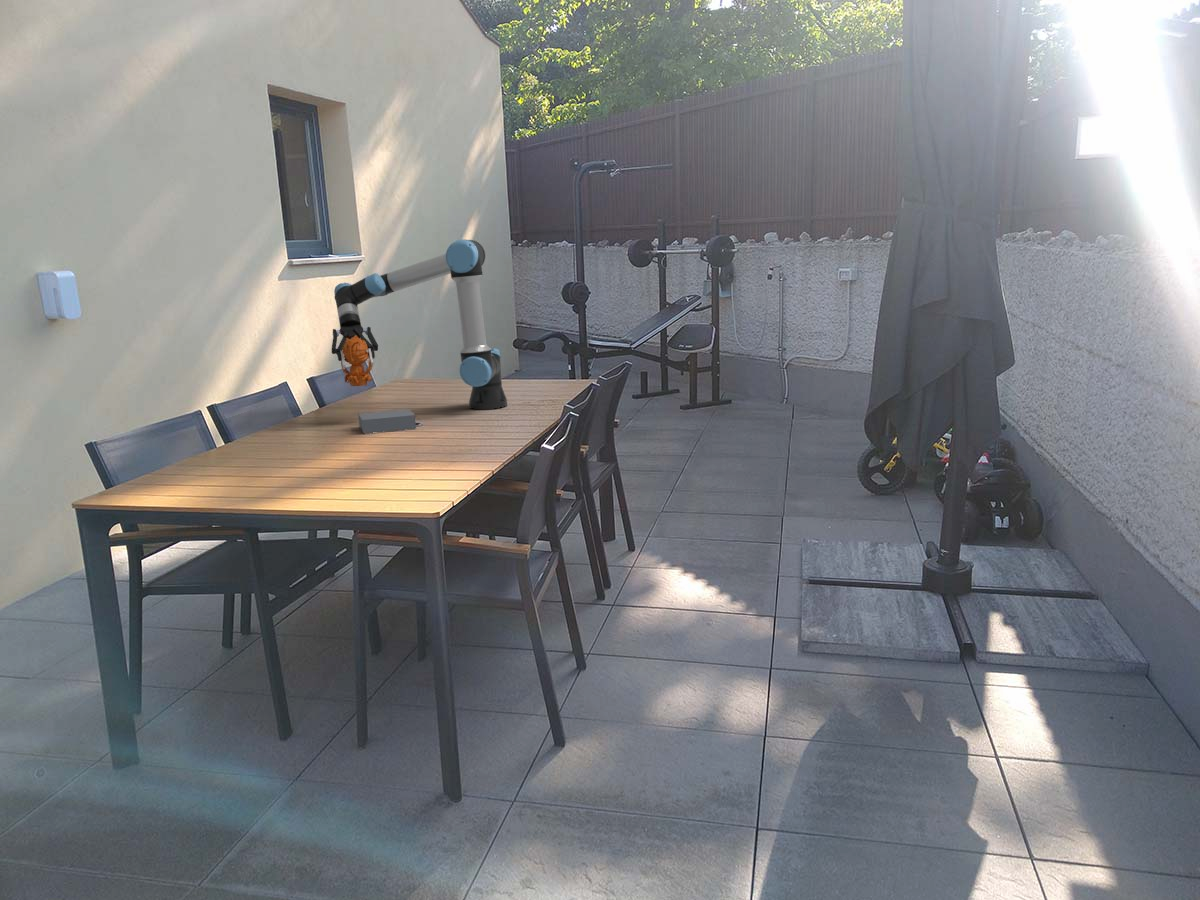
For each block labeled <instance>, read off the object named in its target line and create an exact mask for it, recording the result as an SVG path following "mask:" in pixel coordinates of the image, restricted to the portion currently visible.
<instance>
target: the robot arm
mask: <svg viewBox="0 0 1200 900" xmlns="http://www.w3.org/2000/svg"><path fill="white" fill-rule="evenodd" d="M485 261H486V251H485V249H484V247H483V245H482V244H481V243H479V242H478V241H477V240H472V239H457V240H456V241H453V242H452V243H451V244H450V245H449V246H448V247H447V249H446V251H445V253H444V254H440V255H438V256H434V257H432V258H429V259H426V260H423V261H420V262H417V263H414V264H411V265H408V266H406V267H405V266H404V267H402V268H399V269H396V270H393V271H391V272H387V273H384V274H381V275H380V274H378V273H372V274H370V275H367V276H366V277H364V278H362V279H360V280H358V281H356V282H355V283H353V284H351V283H349V282H343V283H342V282H340V283H338V284H337V285H336V286H335V287H334V290H333V291H334V292H333V293H334V300H335V305H336V309H337V316H338V322H339V329H337V330H336V328H333V329H332V336H333V337H332V342H331V343H332V344H331V354H332V355H337V360H338V361H339V362H341V361H342V366H343V369H345V367H346V361H345V360H344V359H345V358H344V354H343V352H342V351H343V350H342V347H344V344H345V343H346V342H345V341H346V338H348V339H351V338H353V337H354V336H355V335H357V337H358V338H361V340H365V341H366V344H367V347H368V350H367V352H368V353H369V358H368V361H369V360H371V366H372V368H374V360H373V359H375V358H376V357H375V352H377V351H378V350H379V344H378V342H377V340H376V339H375V336H374V335H373V333H372V331H371V327H370V326H367V328H366V327H365V328H364V327H363V326H362V323H361V318H360V311H359V307H358V305H360V304H362V303H365V302H366V301H368V300H370V299H372V298H378V297H385V296H388V295H389V294H392V293H394V292H398V291H401V290H404V289H407V288H410V287H413V286H416V285H419V284H422V283H425V282H428V281H432V280H436V279H437V278H440V277H444V276H447V275H449V274H450V278H451V280H453V281H454V283H455V285H456V293H457V302H458V310H459V311H458V312H459V318H460V319H459V320H460V326H461V335H462V343H463V347H462V349H461V350H460V351H459V353H460V360H461V361H460V362H461V363H460V365H459V374H460V375H459V376H460V378H461V379H462V381H463V382H464V383H465V384H467V385H468V386H470V387H472V389H471V392H470V395H469V399H468V400H469V401H468V407H470V408H469V409H471V408H474V409H473V410H495V409H494V408H497V409H501V408H500V407H502V408H505V407H504V406H506V405H507V406H508V400H507V396H506V394H505V391H504V389H503V386H502V385H503V384H502V383H503V381H502V366H501V365H502V364H501V363H502V362H501V357H502V356H501V352H500V350H499V349H498V348H491V347H490V346H488V344H487V337H486V328H485V319H484V312H483V303H482V293H481V285H480V280H481V279H482V277H483V267H482V266H483V265H484V263H485ZM363 333H364V334H365V336H367V338H366V337H365V336H364V335H363ZM340 335H341V336H342V339H341V340H340V342H339V345H338V346H337V343H338V337H339V336H340ZM342 366H341V367H342ZM507 406H506V407H507Z"/></svg>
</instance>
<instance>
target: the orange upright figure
mask: <svg viewBox="0 0 1200 900" xmlns="http://www.w3.org/2000/svg"><path fill="white" fill-rule="evenodd" d="M345 342H346V343H345V344H344V347H342V350H343V351H342V352H343V355H344V360H345V363H349V365H350V369H349V370H348V369H347V367H346V366H345V369H343V366H342V361H340V366H341V369H342V372H344V374H345V376H344V383H347V384H349V385H350V386H351V387H361V386H367V385H368V382H373V378H372V376H371V374H370V372H371V370H372V368H373V367H372V366H371V360H369V353H368V347H367V344H366V341H365V340H361V338H358V337H357V335H355V336H354V337H353V338H351V339H348V338H346V341H345ZM367 361H368V367H367V369H366V370H365V367H364V364H365V362H367Z"/></svg>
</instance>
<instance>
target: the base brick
mask: <svg viewBox="0 0 1200 900" xmlns="http://www.w3.org/2000/svg"><path fill="white" fill-rule="evenodd" d="M357 417H358V427H360V428H361V429H360V428H359V429H360V431H361V430H362V431H361V432H362V433H364V434H363V435H366V434H365V433H371V434H374V433H373V432H381V433H384V432H383V431H391V432H396V431H395V430H401V431H406V430H405V429H411V430H416V429H417V427H416V426H417V424H416V415H415V413H414V412H412V410H410V409H409V408H405V409H395V410H383V411H382V410H381V411H374V412H373V411H372V412H363V413H362V412H361V413H357ZM415 428H416V429H415Z"/></svg>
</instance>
